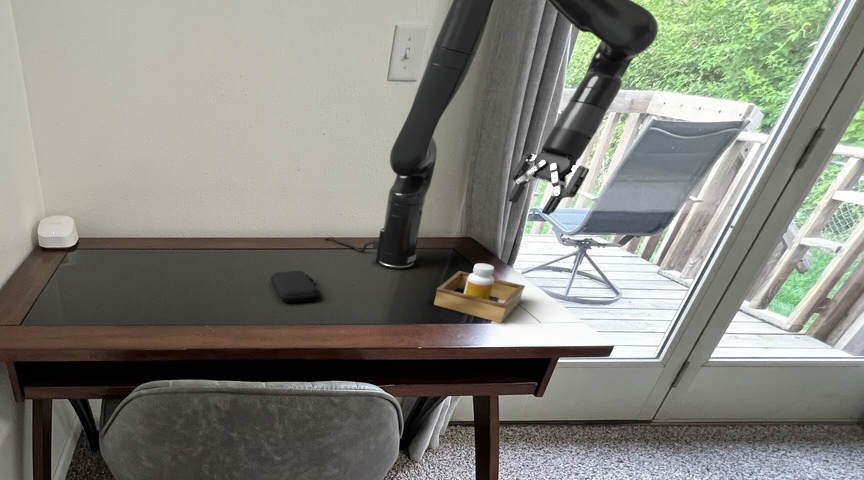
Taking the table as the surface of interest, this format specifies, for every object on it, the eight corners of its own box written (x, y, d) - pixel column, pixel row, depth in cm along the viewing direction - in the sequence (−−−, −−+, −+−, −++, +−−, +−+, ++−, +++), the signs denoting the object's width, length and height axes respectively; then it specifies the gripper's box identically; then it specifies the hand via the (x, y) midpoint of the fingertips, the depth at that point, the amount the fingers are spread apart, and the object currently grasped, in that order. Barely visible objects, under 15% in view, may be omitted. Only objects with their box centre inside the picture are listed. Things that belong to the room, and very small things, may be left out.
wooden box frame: (433, 304, 111) (436, 288, 109) (455, 286, 119) (459, 270, 117) (501, 323, 102) (506, 306, 100) (519, 301, 111) (525, 285, 109)
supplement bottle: (489, 312, 107) (501, 271, 102) (463, 310, 108) (474, 270, 103) (483, 301, 111) (494, 262, 106) (458, 300, 112) (468, 261, 107)
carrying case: (324, 301, 114) (308, 278, 127) (325, 290, 113) (308, 267, 125) (281, 305, 113) (268, 281, 126) (281, 293, 112) (269, 270, 124)
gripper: (533, 119, 102) (492, 195, 109) (598, 132, 91) (547, 215, 99) (552, 128, 105) (511, 201, 113) (616, 142, 95) (566, 221, 102)
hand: (528, 207), depth 106 cm, fingers open, 8 cm apart
